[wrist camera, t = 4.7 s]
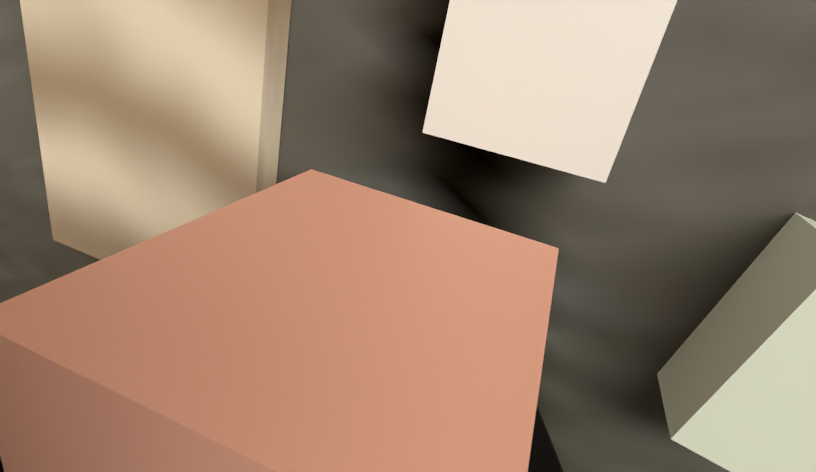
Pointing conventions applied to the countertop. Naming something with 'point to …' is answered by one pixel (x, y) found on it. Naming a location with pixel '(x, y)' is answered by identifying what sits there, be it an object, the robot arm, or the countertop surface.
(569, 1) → the cream cube
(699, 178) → the countertop surface
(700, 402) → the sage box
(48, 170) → the birch board
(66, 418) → the terracotta block
